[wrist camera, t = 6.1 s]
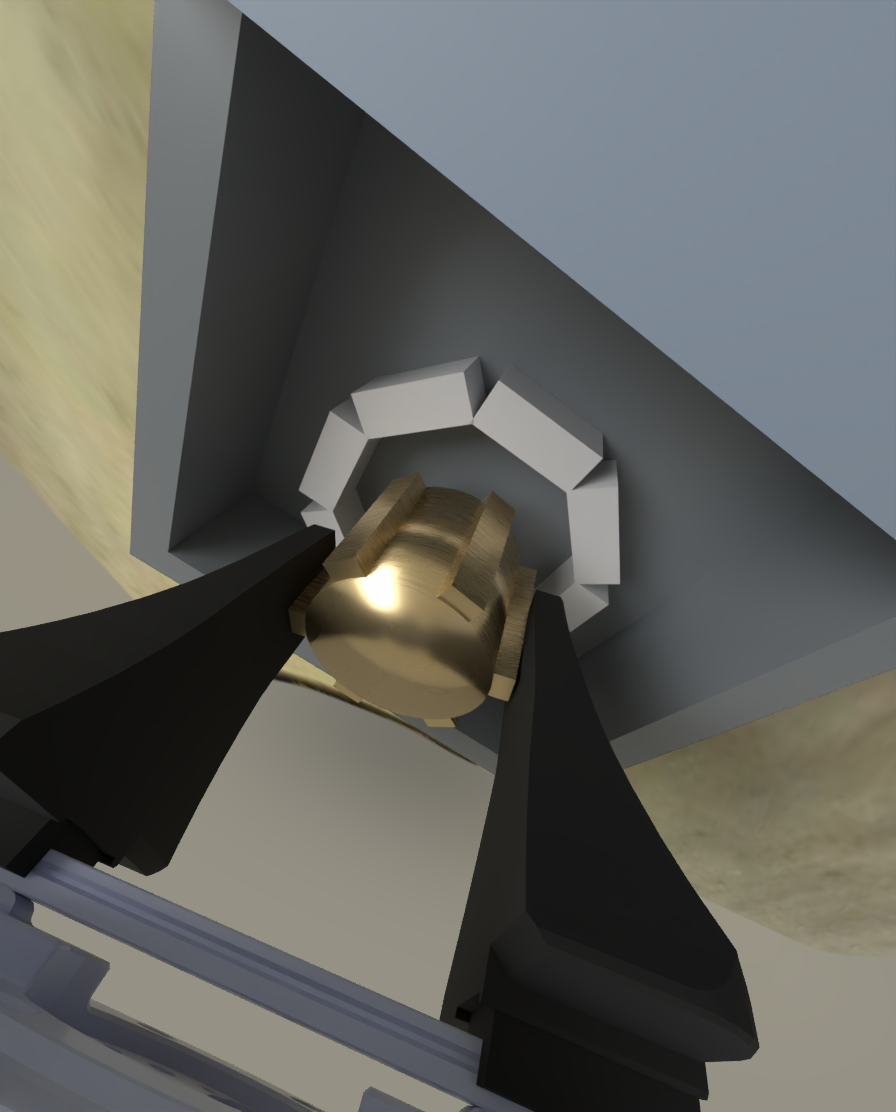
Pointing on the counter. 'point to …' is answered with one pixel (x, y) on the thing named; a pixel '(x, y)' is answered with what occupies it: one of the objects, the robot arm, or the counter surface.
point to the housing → (461, 407)
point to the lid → (673, 180)
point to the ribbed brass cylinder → (421, 603)
